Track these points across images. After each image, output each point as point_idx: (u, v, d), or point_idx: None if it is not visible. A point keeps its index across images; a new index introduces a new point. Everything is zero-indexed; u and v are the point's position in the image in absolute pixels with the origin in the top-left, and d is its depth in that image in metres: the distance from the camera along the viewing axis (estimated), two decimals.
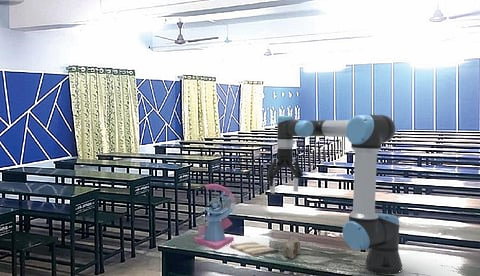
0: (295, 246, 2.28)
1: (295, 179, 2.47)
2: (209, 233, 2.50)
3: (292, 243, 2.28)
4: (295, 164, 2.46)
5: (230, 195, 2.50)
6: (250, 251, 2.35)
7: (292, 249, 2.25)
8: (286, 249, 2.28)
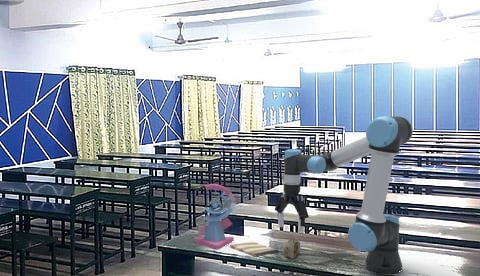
0: (295, 246, 2.28)
1: None
2: (209, 233, 2.50)
3: (292, 243, 2.28)
4: None
5: (230, 195, 2.50)
6: (250, 251, 2.35)
7: (292, 249, 2.25)
8: (286, 249, 2.28)
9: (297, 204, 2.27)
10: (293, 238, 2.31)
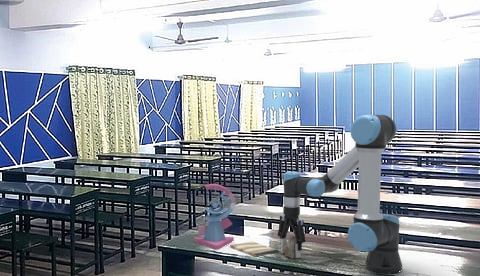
0: None
1: None
2: (209, 233, 2.50)
3: (292, 243, 2.28)
4: None
5: (230, 195, 2.50)
6: (250, 251, 2.35)
7: (292, 249, 2.25)
8: (286, 249, 2.28)
9: (296, 228, 2.28)
10: (293, 238, 2.31)
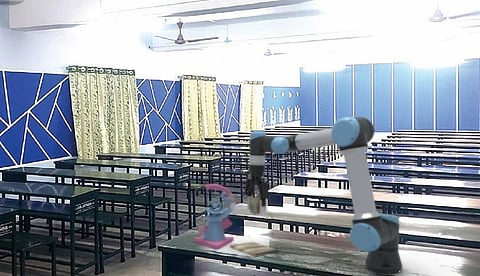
0: None
1: None
2: (209, 233, 2.50)
3: (257, 200, 2.37)
4: None
5: (230, 195, 2.50)
6: (250, 251, 2.35)
7: (256, 205, 2.35)
8: (251, 205, 2.38)
9: (260, 185, 2.38)
10: (258, 195, 2.40)
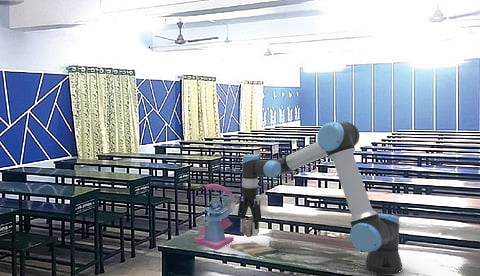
0: None
1: None
2: (209, 233, 2.50)
3: (249, 222, 2.39)
4: None
5: (230, 195, 2.50)
6: (250, 251, 2.35)
7: (249, 228, 2.37)
8: (244, 228, 2.40)
9: (253, 207, 2.40)
10: (251, 218, 2.43)
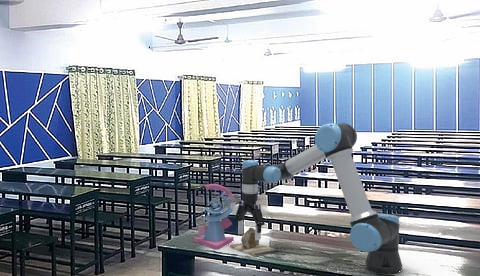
0: (251, 237, 2.40)
1: None
2: (209, 233, 2.50)
3: (248, 234, 2.40)
4: None
5: (230, 195, 2.50)
6: (250, 251, 2.35)
7: (247, 239, 2.38)
8: (243, 239, 2.40)
9: (254, 212, 2.39)
10: (250, 229, 2.43)
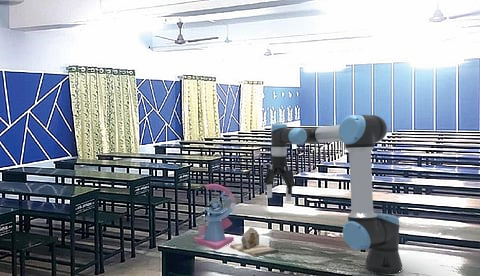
0: (251, 237, 2.40)
1: None
2: (209, 233, 2.50)
3: (248, 234, 2.40)
4: None
5: (230, 195, 2.50)
6: (250, 251, 2.35)
7: (247, 239, 2.38)
8: (243, 239, 2.40)
9: (284, 174, 2.43)
10: (250, 229, 2.43)
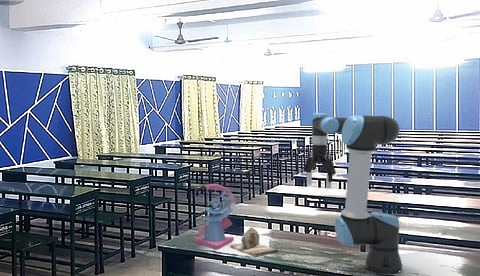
0: (251, 237, 2.40)
1: None
2: (209, 233, 2.50)
3: (248, 234, 2.40)
4: None
5: (230, 195, 2.50)
6: (250, 251, 2.35)
7: (248, 239, 2.38)
8: (243, 239, 2.40)
9: (325, 162, 2.49)
10: (251, 229, 2.43)
